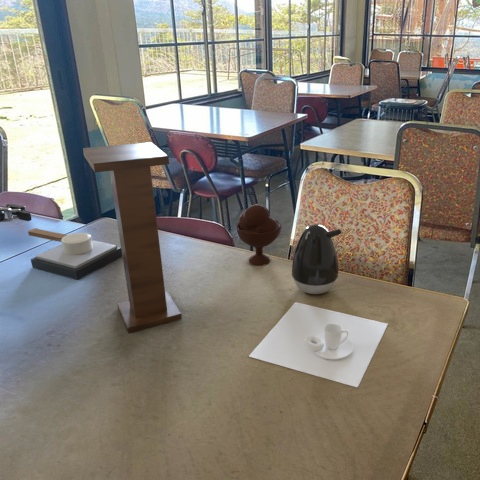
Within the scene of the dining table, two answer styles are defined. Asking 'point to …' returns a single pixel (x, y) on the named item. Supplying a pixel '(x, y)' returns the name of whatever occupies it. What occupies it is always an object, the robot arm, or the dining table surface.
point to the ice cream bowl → (258, 231)
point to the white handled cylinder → (67, 240)
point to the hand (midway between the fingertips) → (14, 222)
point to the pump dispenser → (315, 260)
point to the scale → (76, 260)
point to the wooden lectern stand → (137, 231)
